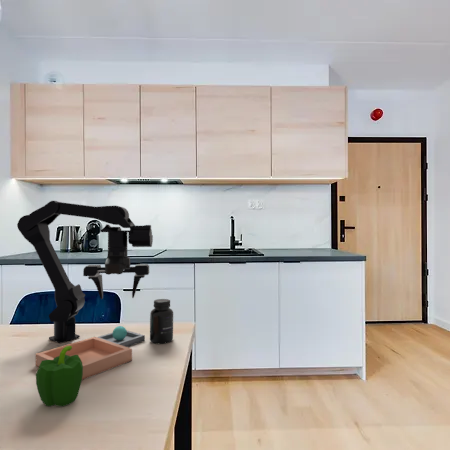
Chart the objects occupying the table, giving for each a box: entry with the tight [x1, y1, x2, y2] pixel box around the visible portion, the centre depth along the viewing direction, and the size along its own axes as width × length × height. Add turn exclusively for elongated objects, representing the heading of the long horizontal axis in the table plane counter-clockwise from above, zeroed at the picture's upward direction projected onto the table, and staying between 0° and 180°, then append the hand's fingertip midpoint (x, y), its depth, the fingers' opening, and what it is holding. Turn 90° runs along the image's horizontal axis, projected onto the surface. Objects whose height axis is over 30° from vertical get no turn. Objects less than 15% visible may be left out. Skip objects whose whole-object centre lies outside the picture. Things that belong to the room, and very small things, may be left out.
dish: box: [35, 336, 133, 381], centre depth 84 cm, size 16×16×3 cm
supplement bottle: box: [149, 298, 174, 345], centre depth 101 cm, size 7×7×12 cm
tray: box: [96, 329, 146, 348], centre depth 100 cm, size 10×10×2 cm
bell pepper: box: [35, 346, 83, 407], centre depth 66 cm, size 8×8×10 cm
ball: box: [112, 325, 128, 340], centre depth 100 cm, size 4×4×4 cm
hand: (117, 298), depth 104 cm, fingers open, 9 cm apart
